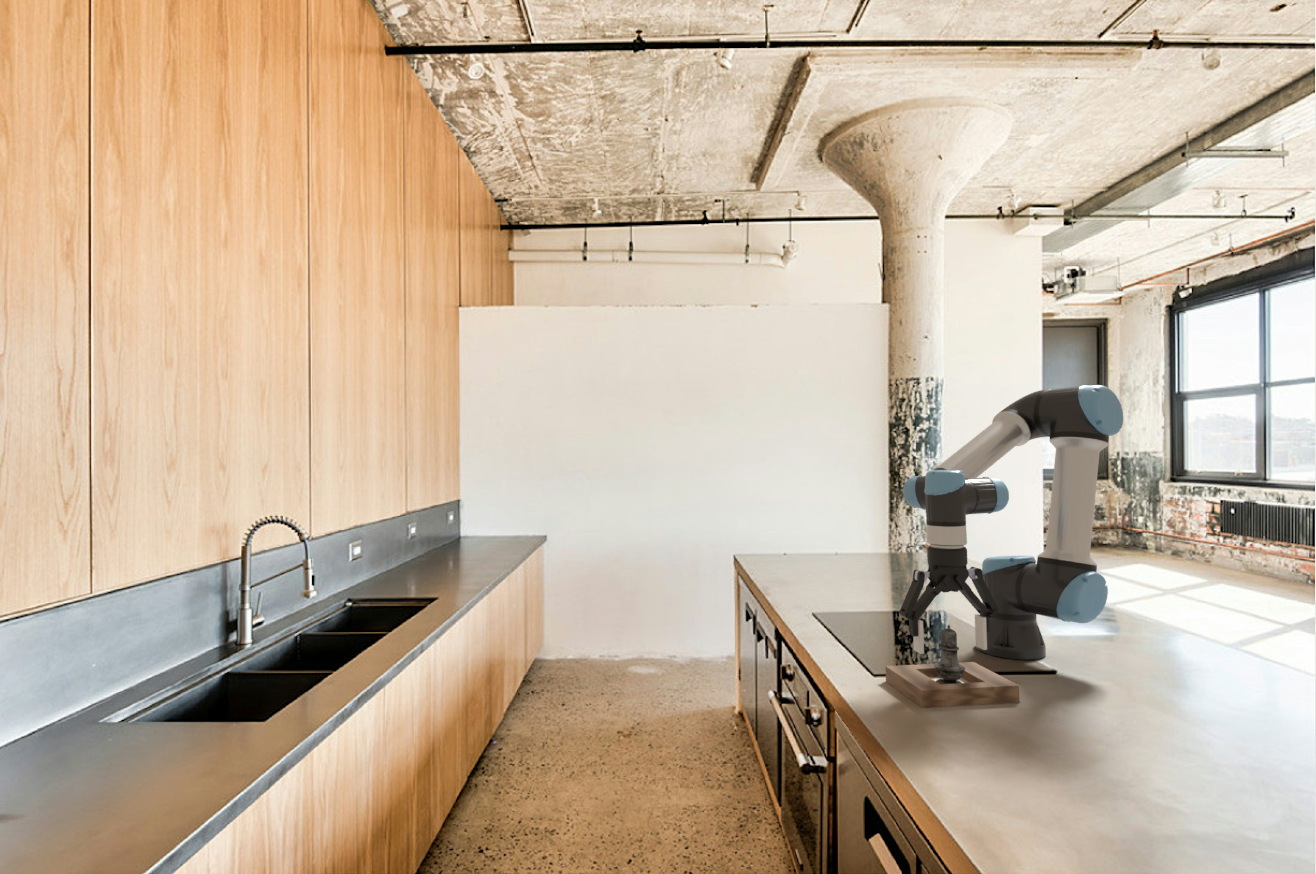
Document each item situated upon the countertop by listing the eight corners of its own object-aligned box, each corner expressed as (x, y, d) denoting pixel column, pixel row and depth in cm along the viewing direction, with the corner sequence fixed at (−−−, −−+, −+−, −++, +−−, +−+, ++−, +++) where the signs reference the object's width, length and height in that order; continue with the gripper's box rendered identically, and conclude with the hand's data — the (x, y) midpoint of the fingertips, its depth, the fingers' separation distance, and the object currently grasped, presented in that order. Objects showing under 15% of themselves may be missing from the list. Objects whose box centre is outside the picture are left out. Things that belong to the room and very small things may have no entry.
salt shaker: (961, 691, 130) (960, 629, 131) (930, 685, 134) (929, 625, 134) (968, 683, 135) (967, 623, 136) (938, 677, 139) (937, 619, 139)
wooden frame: (973, 676, 143) (973, 661, 143) (1019, 702, 128) (1019, 685, 128) (885, 681, 141) (885, 666, 141) (922, 707, 126) (922, 690, 126)
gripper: (992, 540, 141) (995, 641, 140) (880, 545, 138) (883, 648, 137) (1015, 545, 133) (1019, 651, 133) (897, 550, 130) (901, 659, 130)
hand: (950, 650), depth 135 cm, fingers open, 13 cm apart
